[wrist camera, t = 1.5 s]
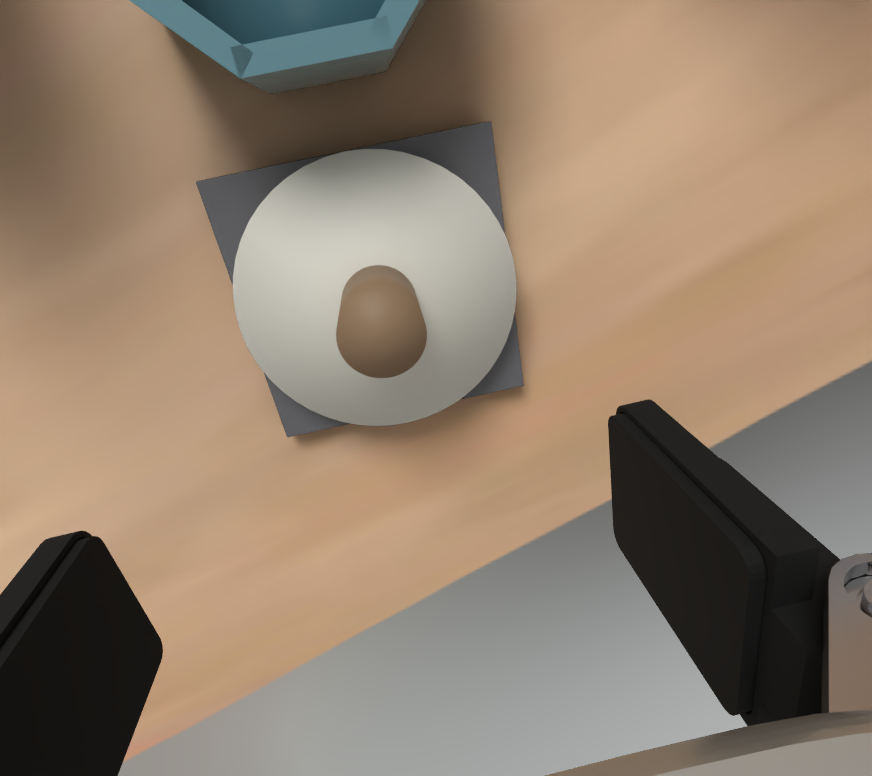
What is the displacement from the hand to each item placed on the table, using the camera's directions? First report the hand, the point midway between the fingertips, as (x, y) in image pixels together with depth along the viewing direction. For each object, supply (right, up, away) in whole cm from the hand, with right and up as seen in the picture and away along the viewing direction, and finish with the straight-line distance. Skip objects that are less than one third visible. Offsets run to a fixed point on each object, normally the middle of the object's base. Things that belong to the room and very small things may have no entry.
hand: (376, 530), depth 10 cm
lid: (-1, +7, +14) cm, 16 cm away
